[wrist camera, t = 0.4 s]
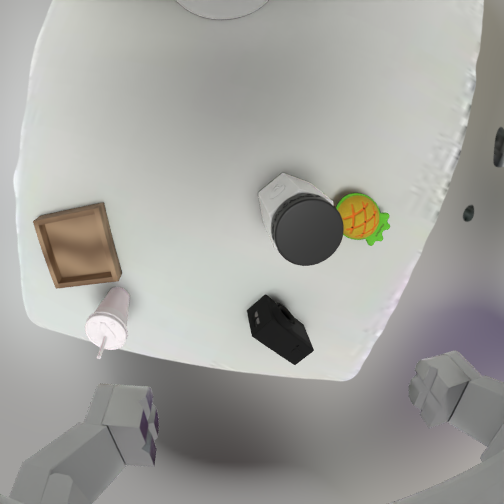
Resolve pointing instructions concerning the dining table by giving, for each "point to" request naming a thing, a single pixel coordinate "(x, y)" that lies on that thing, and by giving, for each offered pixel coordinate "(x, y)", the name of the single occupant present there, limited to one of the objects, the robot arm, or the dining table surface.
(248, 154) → the dining table surface
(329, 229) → the jar
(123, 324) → the smoothie
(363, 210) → the toy pineapple
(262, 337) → the digital camera
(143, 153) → the dining table surface
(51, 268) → the tray
